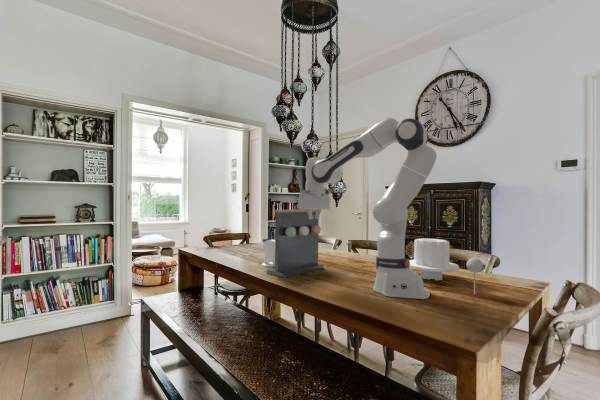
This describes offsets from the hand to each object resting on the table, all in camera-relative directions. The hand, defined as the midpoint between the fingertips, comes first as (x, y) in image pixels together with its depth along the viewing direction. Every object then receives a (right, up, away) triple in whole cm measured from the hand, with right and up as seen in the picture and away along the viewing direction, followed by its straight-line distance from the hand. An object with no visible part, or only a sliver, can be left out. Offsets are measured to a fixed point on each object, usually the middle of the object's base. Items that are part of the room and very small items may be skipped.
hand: (314, 218), depth 149 cm
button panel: (-8, -29, +17) cm, 34 cm away
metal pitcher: (-24, -30, +33) cm, 50 cm away
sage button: (-12, -9, +7) cm, 16 cm away
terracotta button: (+2, -10, +21) cm, 24 cm away
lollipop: (+65, -30, -24) cm, 75 cm away
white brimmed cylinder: (+59, -30, +5) cm, 67 cm away
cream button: (-5, -10, +14) cm, 18 cm away
